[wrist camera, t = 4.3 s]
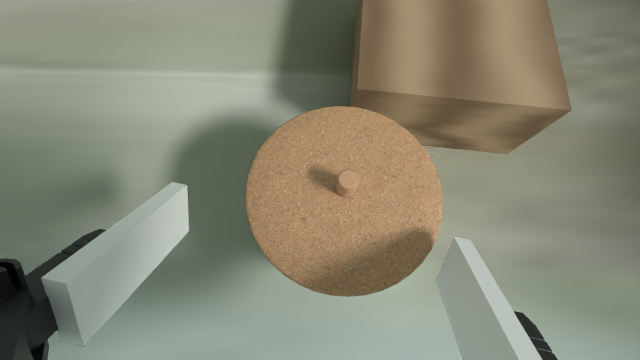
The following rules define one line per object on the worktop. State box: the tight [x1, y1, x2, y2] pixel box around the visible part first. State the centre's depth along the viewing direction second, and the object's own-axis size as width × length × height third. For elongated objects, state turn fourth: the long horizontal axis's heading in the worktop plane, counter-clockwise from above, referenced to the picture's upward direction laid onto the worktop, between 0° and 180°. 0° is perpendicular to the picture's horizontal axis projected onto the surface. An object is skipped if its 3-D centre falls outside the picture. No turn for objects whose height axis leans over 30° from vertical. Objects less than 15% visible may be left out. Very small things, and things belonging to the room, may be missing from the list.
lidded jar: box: [245, 106, 443, 297], centre depth 19 cm, size 11×11×9 cm
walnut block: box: [349, 0, 571, 154], centre depth 25 cm, size 14×14×7 cm
